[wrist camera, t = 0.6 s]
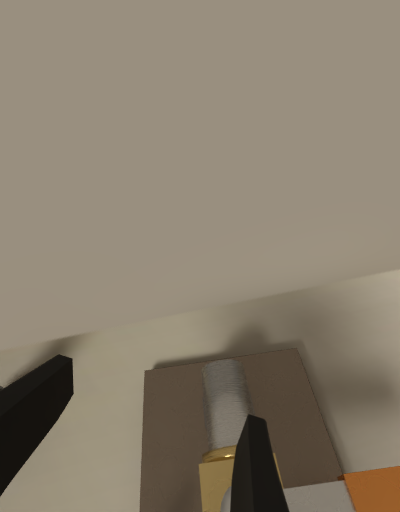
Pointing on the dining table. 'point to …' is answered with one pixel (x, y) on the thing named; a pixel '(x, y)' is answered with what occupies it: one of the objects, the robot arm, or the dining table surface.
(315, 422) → the valve manifold
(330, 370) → the dining table surface
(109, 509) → the dining table surface
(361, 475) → the valve lever
